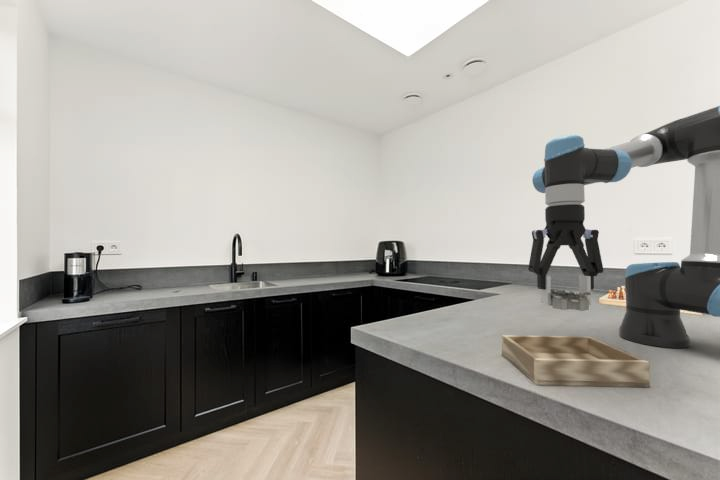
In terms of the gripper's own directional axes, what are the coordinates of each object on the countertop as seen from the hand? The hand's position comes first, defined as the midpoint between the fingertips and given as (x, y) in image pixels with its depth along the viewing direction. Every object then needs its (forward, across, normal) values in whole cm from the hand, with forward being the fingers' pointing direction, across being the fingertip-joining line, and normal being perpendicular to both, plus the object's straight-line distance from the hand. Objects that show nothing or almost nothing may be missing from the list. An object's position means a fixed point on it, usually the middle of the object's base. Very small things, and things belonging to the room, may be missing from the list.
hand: (565, 303), depth 70 cm
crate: (+15, 0, 0) cm, 15 cm away
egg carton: (+1, 0, 0) cm, 1 cm away
